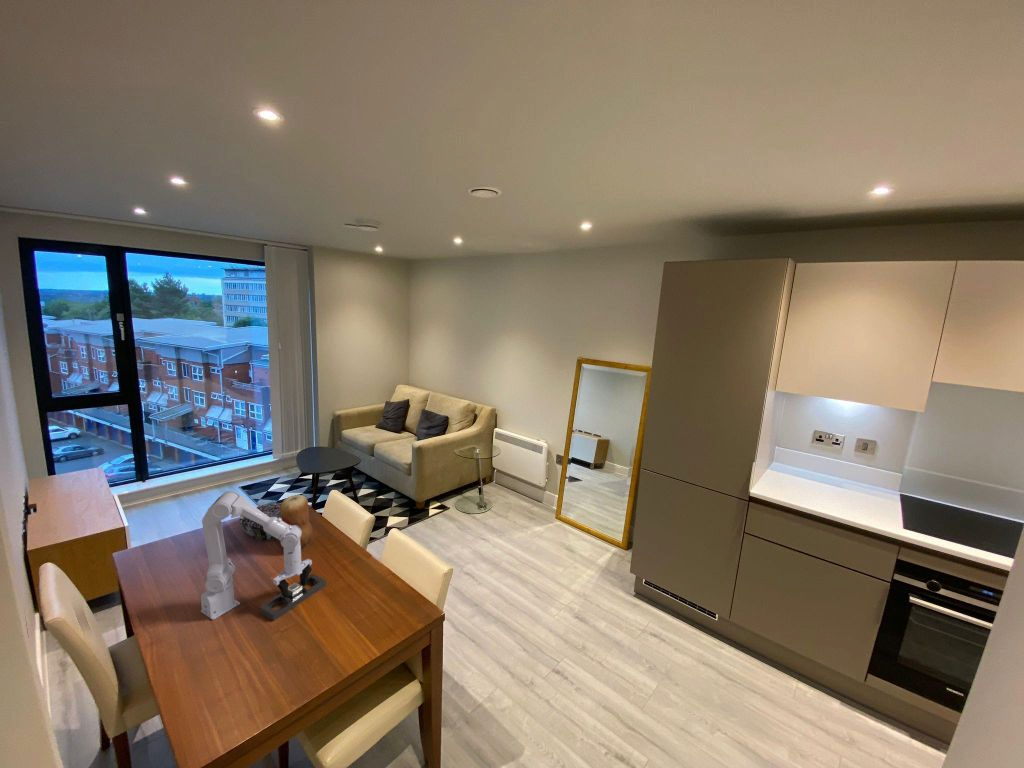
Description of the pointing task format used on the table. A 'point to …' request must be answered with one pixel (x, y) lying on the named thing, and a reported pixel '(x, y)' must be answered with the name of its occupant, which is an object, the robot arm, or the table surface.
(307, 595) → the rack rail
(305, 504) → the butternut squash
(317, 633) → the table surface
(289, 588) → the block
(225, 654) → the table surface
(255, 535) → the decorative bowl
